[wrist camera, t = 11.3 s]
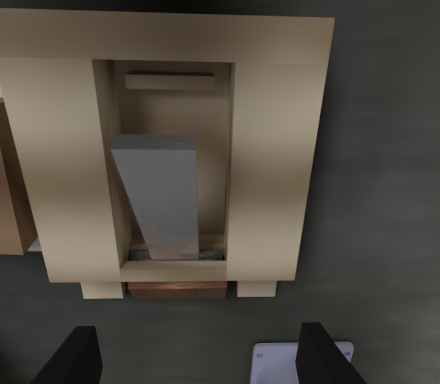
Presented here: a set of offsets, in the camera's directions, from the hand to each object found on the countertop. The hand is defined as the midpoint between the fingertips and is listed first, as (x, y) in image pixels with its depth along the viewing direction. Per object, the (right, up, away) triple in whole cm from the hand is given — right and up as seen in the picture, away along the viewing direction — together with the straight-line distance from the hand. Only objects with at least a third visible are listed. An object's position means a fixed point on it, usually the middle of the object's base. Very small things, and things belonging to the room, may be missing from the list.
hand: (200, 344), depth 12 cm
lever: (-2, +3, +5) cm, 6 cm away
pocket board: (-2, +6, +8) cm, 11 cm away
